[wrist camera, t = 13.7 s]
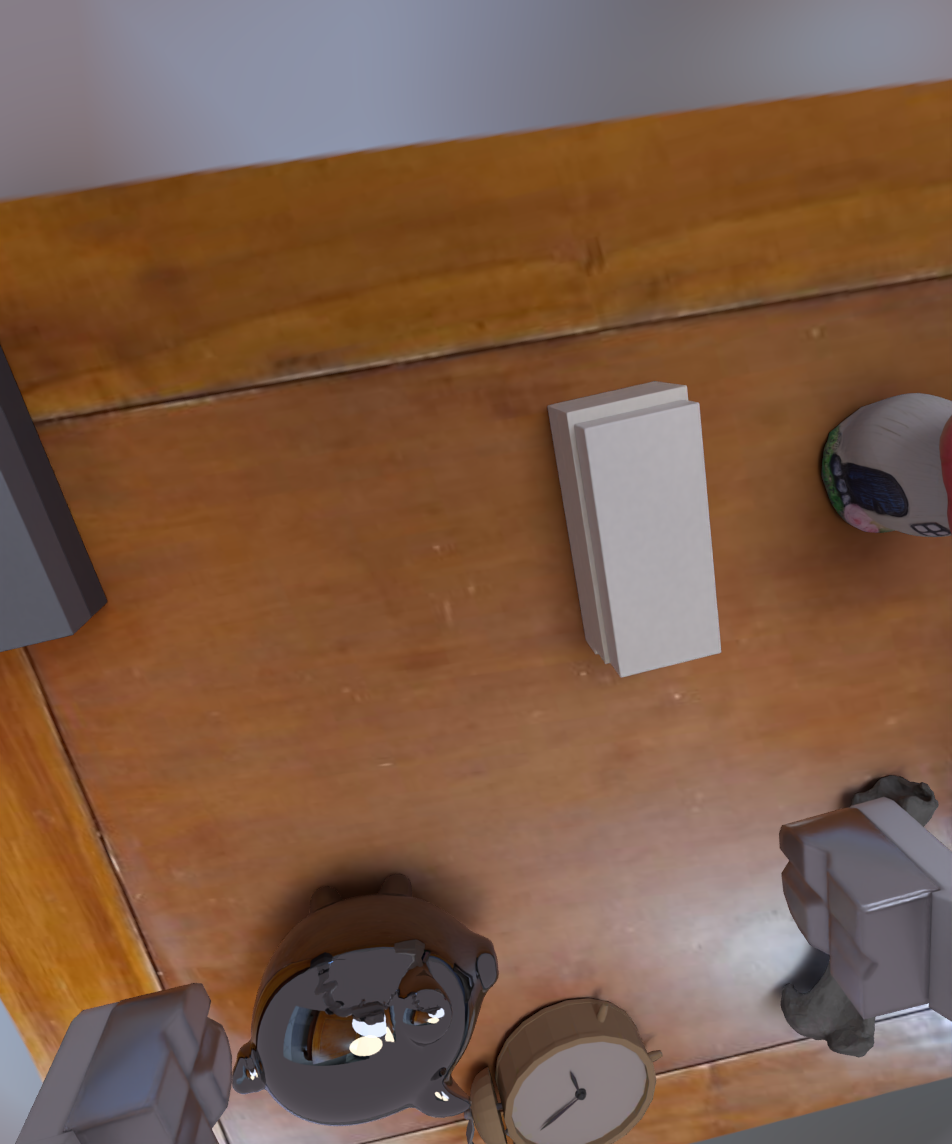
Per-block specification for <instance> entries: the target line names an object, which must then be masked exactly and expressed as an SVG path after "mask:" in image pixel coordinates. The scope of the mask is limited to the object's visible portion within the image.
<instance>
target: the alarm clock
mask: <svg viewBox="0 0 952 1144" xmlns="http://www.w3.org/2000/svg"><path fill="white" fill-rule="evenodd" d="M660 1057H662V1052H661V1050H656V1051H651V1052H649V1053H647V1051H646V1049H645V1047H644V1044H643V1042H642V1040H641V1038H640V1036H639V1034H638V1031H637V1028H636V1025H635V1024H634V1023H633V1021H632V1020H631V1018H630V1017H629V1016H628V1014H627V1013H626V1012H625V1011H624V1010H622V1009H620V1008H619V1007H617V1006H615V1005H614V1004H612V1003H610V1002H606V1001H601V1000H596V999H590V998H586V999H576V1000H566V1001H563V1002H561V1003H558V1004H555V1005H552V1006H549V1007H547V1008H544V1009H542V1010H540V1011H539V1012H537V1013H536V1014H534V1015H533V1016H531V1017H530V1018H528V1019H527V1020H525V1021H524V1022H522V1023H521V1024H520V1026H519V1027H518V1028H517V1029H516V1030H515V1031H514V1032H513V1033H512V1034H511V1035H510V1036H509V1037H508V1039H507V1040H506V1042H505V1044H504V1046H503V1048H502V1050H501V1052H500V1054H499V1056H498V1058H497V1064H496V1072H495V1080H496V1084H497V1087H498V1090H499V1094H500V1098H501V1103H498V1101H497V1097H496V1093H495V1089H494V1085H493V1082H492V1078H491V1075H490V1071H489V1068H488V1067H487V1068H485V1069H483V1070H481V1071H480V1072H479V1073H478V1074H477V1075H476V1077H475V1079H474V1081H473V1083H472V1087H471V1094H470V1098H471V1101H472V1104H471V1108H469V1109H468V1110H466V1111H465V1112H464V1117H465V1119H467V1120H469V1122H468V1126H467V1132H466V1136H467V1142H468V1144H474V1143H473V1142H472V1139H473V1136H474V1130H475V1129H474V1123H475V1126H476V1129H477V1131H478V1133H479V1135H480V1136H481V1138H482V1139H483V1140H484V1142H485V1143H486V1144H507V1140H506V1135H508V1136H509V1137H511V1139H512V1140H513V1144H613V1143H614V1142H616V1141H617V1140H619V1139H620V1138H622V1137H623V1136H625V1135H626V1134H627V1133H628V1132H629V1131H630V1130H631V1129H632V1128H633V1127H634V1126H635V1125H636V1124H637V1123H638V1122H639V1121H640V1120H641V1119H642V1117H643V1116H644V1114H645V1112H646V1110H647V1108H648V1107H649V1105H650V1103H651V1101H652V1100H653V1095H654V1090H655V1085H656V1076H655V1071H654V1066H653V1062H654V1061H656V1060H658V1059H659V1058H660ZM500 1109H503V1111H504V1114H503V1115H504V1119H505V1123H506V1126H507V1129H506V1130H504V1126H503V1122H502V1117H501V1113H500ZM472 1117H473V1118H472ZM473 1120H474V1123H473ZM505 1134H506V1135H505Z"/></svg>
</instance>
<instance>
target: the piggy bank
mask: <svg viewBox="0 0 952 1144" xmlns="http://www.w3.org/2000/svg"><path fill="white" fill-rule="evenodd" d="M498 976H499V971H498V960H497V956H496V953H495V950H494V946H493V943H492V942H491V940H489V939H488V938H486V937H484V936H481V935H479V934H477V933H474V932H473V931H471V930H470V929H468V928H467V927H466V926H465V925H463V924H462V923H461V922H460V921H458V920H457V919H456V918H455V917H453V916H452V915H450V914H449V913H447V912H446V911H444V910H443V909H441V908H439V907H437V906H435V905H433V904H431V903H429V902H427V901H424V900H421V899H418V898H415V897H412V887H411V883H410V880H409V879H408V878H407V877H406V876H404V875H402V874H394V875H391V876H389V877H388V878H386V879H385V881H384V882H383V884H382V886H381V888H380V890H379V892H378V894H372V895H364V896H357V897H352V898H348V899H344V900H343V899H342V897H341V895H340V894H339V893H338V891H337V890H335V889H334V888H331V887H329V886H325V887H320V888H318V889H317V890H316V891H315V892H314V893H313V895H312V897H311V900H310V912H309V915H308V916H307V917H305V918H304V919H303V920H301V921H300V922H299V923H298V924H297V925H296V926H294V927H293V928H292V929H291V931H290V932H289V933H288V934H287V935H286V936H285V937H284V939H283V940H282V941H281V943H280V944H279V946H278V947H277V949H276V950H275V952H274V954H273V955H272V957H271V959H270V961H269V963H268V965H267V967H266V969H265V972H264V974H263V977H262V979H261V982H260V986H259V988H258V992H257V995H256V999H255V1004H254V1008H253V1014H252V1023H251V1039H250V1041H249V1042H248V1043H246V1044H244V1045H243V1046H242V1047H241V1048H240V1050H239V1052H238V1054H237V1060H236V1063H235V1066H234V1068H233V1073H232V1087H233V1089H234V1090H235V1091H236V1092H238V1093H240V1094H248V1093H253V1092H259V1091H261V1090H263V1089H265V1090H267V1091H268V1093H269V1094H270V1095H271V1097H272V1098H273V1099H274V1100H275V1101H276V1102H277V1103H278V1104H279V1105H280V1106H281V1107H283V1108H284V1109H285V1110H286V1111H288V1112H289V1113H291V1114H293V1115H294V1116H296V1117H298V1118H300V1119H302V1120H305V1121H308V1122H311V1123H315V1124H320V1125H326V1126H351V1125H358V1124H364V1123H368V1122H373V1121H376V1120H380V1119H383V1118H386V1117H388V1116H391V1115H394V1114H396V1113H398V1112H401V1111H403V1110H405V1109H407V1108H416V1109H417V1110H419V1111H421V1112H422V1113H424V1114H426V1115H428V1116H431V1117H435V1118H445V1117H451V1116H455V1115H458V1114H461V1113H463V1112H465V1111H466V1110H468V1109H469V1108H470V1107H471V1104H472V1101H471V1098H470V1097H469V1096H468V1095H467V1094H466V1093H465V1092H464V1091H463V1090H462V1089H461V1088H460V1087H459V1086H458V1084H457V1083H456V1082H455V1081H454V1079H453V1078H452V1077H451V1073H452V1071H453V1069H454V1068H455V1066H456V1065H457V1063H458V1062H459V1060H460V1059H461V1057H462V1055H463V1054H464V1052H465V1050H466V1048H467V1046H468V1044H469V1042H470V1039H471V1037H472V1034H473V1031H474V1028H475V1025H476V1022H477V1019H478V1015H479V1012H480V1009H481V1005H482V1002H483V999H484V997H485V995H486V993H487V992H488V990H489V989H490V988H491V987H492V986H493V985H494V984H495V982H496V981H497V979H498Z"/></svg>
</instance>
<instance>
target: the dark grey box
mask: <svg viewBox="0 0 952 1144" xmlns="http://www.w3.org/2000/svg"><path fill="white" fill-rule="evenodd" d="M106 603H107V599H106V597H105V595H104V592H103V590H102V587H101V585H100V583H99V580H98V578H97V575H96V573H95V571H94V568H93V566H92V563H91V561H90V559H89V556H88V554H87V551H86V549H85V547H84V544H83V542H82V540H81V537H80V535H79V532H78V530H77V528H76V525H75V523H74V520H73V518H72V516H71V513H70V511H69V508H68V506H67V504H66V501H65V499H64V496H63V494H62V492H61V489H60V487H59V485H58V482H57V480H56V477H55V475H54V473H53V470H52V468H51V465H50V463H49V461H48V458H47V456H46V453H45V451H44V449H43V446H42V444H41V441H40V439H39V437H38V434H37V432H36V430H35V427H34V425H33V422H32V420H31V418H30V415H29V413H28V410H27V408H26V406H25V403H24V401H23V398H22V396H21V394H20V391H19V389H18V386H17V384H16V382H15V379H14V377H13V375H12V372H11V370H10V367H9V365H8V363H7V360H6V358H5V355H4V353H3V351H2V348H1V346H0V652H2V651H7V650H11V649H15V648H19V647H24V646H28V645H32V644H36V643H41V642H45V641H49V640H53V639H58V638H62V637H66V636H70V635H73V634H74V633H75V632H77V631H78V630H79V629H80V628H81V627H82V626H83V625H84V624H85V623H86V622H87V621H88V620H89V619H90V618H91V617H92V616H93V615H94V614H95V613H96V612H97V611H99V610H100V609H101V608H102V607H103V606H104V605H105V604H106Z"/></svg>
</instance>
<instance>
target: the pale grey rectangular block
mask: <svg viewBox="0 0 952 1144" xmlns="http://www.w3.org/2000/svg"><path fill="white" fill-rule="evenodd" d="M574 428H575V435H576V441H577V448H578V454H579V461H580V468H581V474H582V481H583V487H584V494H585V501H586V507H587V514H588V521H589V527H590V534H591V540H592V547H593V554H594V560H595V567H596V574H597V580H598V587H599V593H600V600H601V607H602V613H603V620H604V627H605V633H606V640H607V646H608V653H609V660H610V663H611V665H612V666H613V667H614V669H615V670H616V672H617V673H618V674H619V676H620V677H626V676H630V675H634V674H638V673H642V672H646V671H650V670H654V669H658V668H662V667H666V666H670V665H674V664H678V663H682V662H686V661H690V660H694V659H698V658H702V657H706V656H710V655H714V654H718V653H721V644H720V633H719V621H718V610H717V599H716V587H715V576H714V565H713V554H712V542H711V531H710V520H709V509H708V497H707V486H706V475H705V463H704V452H703V441H702V430H701V418H700V407H699V403H698V402H693V401H687V400H678V401H674V402H670V403H665V404H661V405H656V406H652V407H647V408H643V409H639V410H634V411H630V412H625V413H621V414H616V415H612V416H608V417H603V418H599V419H594V420H590V421H585V422H581V423H576V424H575V425H574Z"/></svg>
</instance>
